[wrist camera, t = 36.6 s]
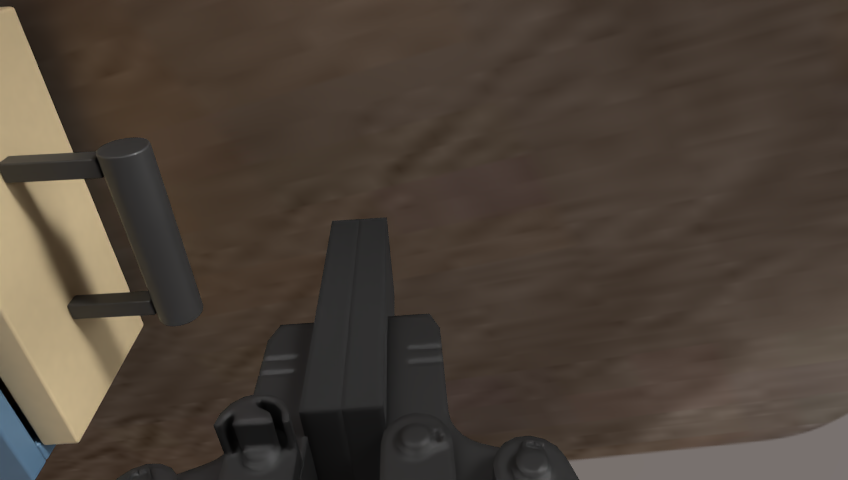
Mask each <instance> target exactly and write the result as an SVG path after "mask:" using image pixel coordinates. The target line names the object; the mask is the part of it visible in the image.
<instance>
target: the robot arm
mask: <svg viewBox="0 0 848 480" xmlns="http://www.w3.org/2000/svg"><path fill="white" fill-rule="evenodd" d="M214 428H215V430H216V433H217V436H218V438H219V441H220V444H221V446H222V449H223V451H224V455H222V456H221V457H219V458H218V459H216V460H214V461H212V462H210V463H207V464H205V465H202V466H199V467H197V468H194V469H191V470H188V471H185V472H182V473H180V474H177V475H176V474H175V472H174V471H173V469H172V468H170V467H168V466H165V465H163V464H146V465H143V466H140V467H137V468H134V469H131V470H130V471H128V472H127V473H125V474H123V475H122V476H120V477H119V478H117V479H116V480H579V479H578V477H577V476H576V474H575V472H574V470H573V468H572V467H571V465H570V463H569V462H568V460H567V458H566V457H565V456H564V454H563V453H562V452H561V451H560V450H559V449H558V447H557V446H555V445H553V444H552V443H550V442H548V441H547V440H545V439H542V438H537V437H533V436H523V437H515V438H513V439H511V440H509V441H507V442H505V443H504V444H503V445H502V446H501V447H500V448H499V447H494V446H490V445H486V444H481V443H478V442H475V441H473V440H470V439H469V438H467V437H465V436H464V435H462V434H461V433H460V432H459V431H458V430H457V429H456V428H455V427H454V425H453V423H452V422H451V420H450V416H449V412H448V403H447V394H446V384H445V374H444V364H443V355H442V345H441V335H440V327H439V326H438V325H437V323H436V322H435V321H434V319H433V318H432V316H431V315H430V314H417V315H402V316H394V286H393V276H392V266H391V256H390V246H389V236H388V225H387V217H386V218H370V219H355V220H340V221H332V225H331V231H330V236H329V242H328V248H327V253H326V259H325V265H324V270H323V276H322V282H321V288H320V293H319V299H318V305H317V310H316V316H315V322H314V323H304V324H289V325H280V327H279V328H278V329H277V330H276V332H275V333H274V334H273V335H272V336H271V338H270V339H269V340H268V343H267V346H266V350H265V354H264V357H263V362H262V365H261V369H260V376H258V380H257V384H256V387H255V391H254V395H251V396H246V397H243V398H241V399H239V400H237V401H235V402H233V403H232V404H230V405H229V406H228V407H227V408H226V409H225V410H224V411H223V412H221V413H220V415H219V417H218V418H217V420H216V422H215V424H214Z"/></svg>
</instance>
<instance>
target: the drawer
mask: <svg viewBox="0 0 848 480" xmlns="http://www.w3.org/2000/svg"><path fill="white" fill-rule="evenodd" d="M103 177H105V180H106V182H107V185H108V188H109V190H110V193H111V195H112V198H113V201H114V203H115V206H116V208H117V211H118V214H119V216H120V219H121V221H122V224H123V226H124V229H125V232H126V234H127V237H128V239H129V242H130V245H131V247H132V250H133V252H134V255H135V258H136V260H137V263H138V265H139V268H140V271H141V273H142V276H143V278H144V281H145V283H146V286H147V289H148V291H141V292H130V290H129V288H128V285H127V283H126V280H125V278H124V275H123V273H122V271H121V268H120V266H119V263H118V261H117V258H116V256H115V253H114V251H113V249H112V246H111V244H110V241H109V239H108V236H107V234H106V231H105V229H104V227H103V224H102V222H101V219H100V217H99V214H98V212H97V209H96V207H95V205H94V202H93V200H92V197H91V195H90V192H89V190H88V187H87V185H86V183H85V180H84V179H95V178H103ZM202 310H203V303H202V300H201V297H200V294H199V291H198V288H197V285H196V282H195V279H194V276H193V273H192V270H191V266H190V263H189V260H188V257H187V254H186V251H185V248H184V245H183V242H182V239H181V236H180V233H179V229H178V226H177V223H176V220H175V217H174V214H173V211H172V208H171V205H170V202H169V199H168V195H167V192H166V189H165V186H164V183H163V180H162V177H161V174H160V171H159V168H158V165H157V162H156V158H155V155H154V152H153V149H152V146H151V143H150V142H149V141H148V140H147V139H144V138H124V139H119V140H115V141H112V142H109V143H107V144H105V145H103V146H101V147H100V148H98V150H97V151H96V152H77V153H73V151H72V148H71V146H70V143H69V141H68V138H67V136H66V134H65V131H64V129H63V126H62V124H61V121H60V119H59V116H58V114H57V112H56V109H55V107H54V104H53V102H52V99H51V97H50V94H49V92H48V90H47V87H46V85H45V82H44V80H43V77H42V75H41V72H40V70H39V68H38V65H37V63H36V60H35V58H34V55H33V53H32V50H31V48H30V46H29V43H28V41H27V38H26V36H25V33H24V31H23V28H22V26H21V24H20V21H19V19H18V16H17V14H16V11H15V9H14V8H13V7H0V390H1V392H2V393H3V395H4V396H5V398H6V399H7V401H8V402H9V404H10V405H11V407H12V405H13V404H14V402H15V401H16V403H17V404H18V406H19V407H20V409H21V411H22V412H23V414H24V415H25V417H26V418H27V420H28V422H29V423H30V425H31V426H32V428H33V429H34V431H35V433H36V434H37V436H38V437H39V439H40V440H41V442H42V444H44V445H55V444H71V443H79V442H80V440H81V438H82V436H83V435H84V433H85V431H86V429H87V427H88V425H89V424H90V422H91V420H92V418H93V416H94V415H95V413H96V411H97V409H98V407H99V405H100V404H101V402H102V400H103V398H104V396H105V395H106V393H107V391H108V389H109V387H110V385H111V384H112V382H113V380H114V378H115V376H116V375H117V373H118V371H119V369H120V367H121V365H122V364H123V362H124V360H125V358H126V356H127V355H128V353H129V351H130V349H131V347H132V345H133V344H134V342H135V340H136V338H137V336H138V335H139V333H140V331H141V329H142V327H143V322H142V320H141V317H140V316H141V315H155V314H156V312H157V315H158V317H159V320H160V321H161V322H162V323H163V324H165V325H167V326H181V325H184V324H187V323H190V322H191V321H193V320H195V319H196V318H197V317H198V316H199V315H200V314H201V313H202Z"/></svg>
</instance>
